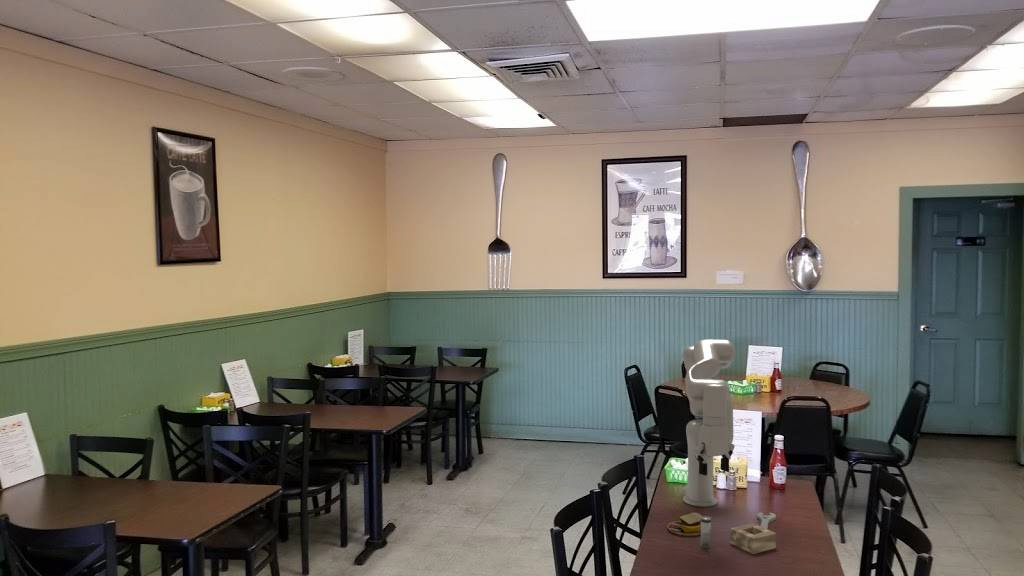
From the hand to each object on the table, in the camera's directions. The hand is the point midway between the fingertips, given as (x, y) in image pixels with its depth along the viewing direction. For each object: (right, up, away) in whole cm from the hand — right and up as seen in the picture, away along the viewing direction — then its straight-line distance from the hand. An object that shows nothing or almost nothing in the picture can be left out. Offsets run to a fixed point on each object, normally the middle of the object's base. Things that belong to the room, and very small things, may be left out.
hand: (714, 472), depth 250 cm
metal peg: (-3, -24, -2) cm, 24 cm away
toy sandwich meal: (-6, -23, +13) cm, 27 cm away
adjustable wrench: (+21, -23, +16) cm, 36 cm away
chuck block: (+12, -24, -1) cm, 27 cm away
